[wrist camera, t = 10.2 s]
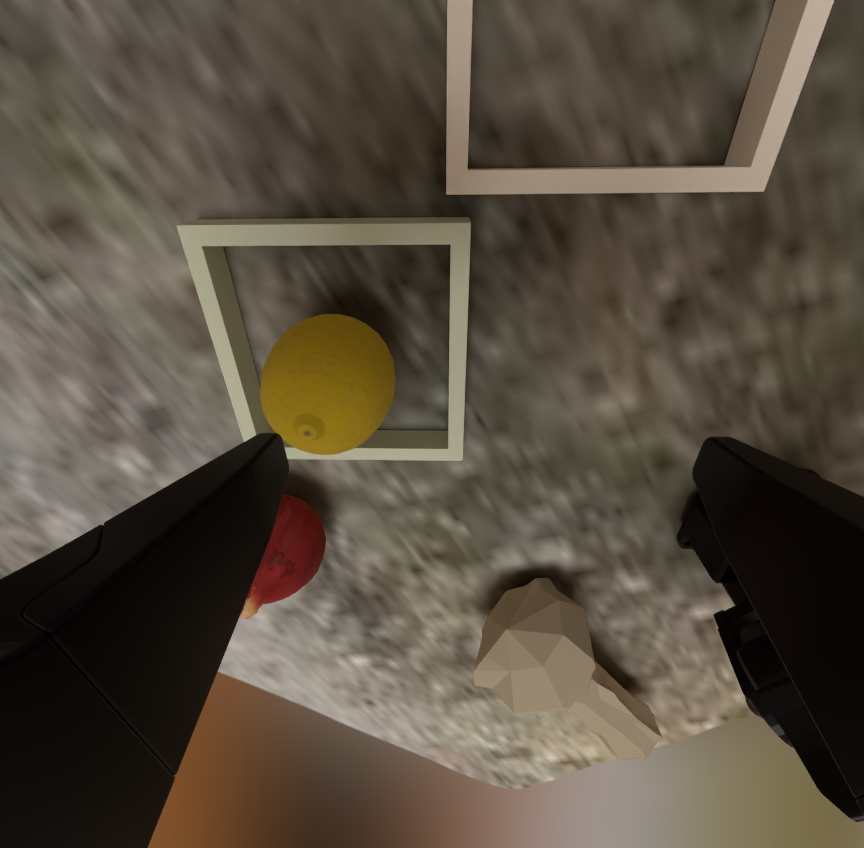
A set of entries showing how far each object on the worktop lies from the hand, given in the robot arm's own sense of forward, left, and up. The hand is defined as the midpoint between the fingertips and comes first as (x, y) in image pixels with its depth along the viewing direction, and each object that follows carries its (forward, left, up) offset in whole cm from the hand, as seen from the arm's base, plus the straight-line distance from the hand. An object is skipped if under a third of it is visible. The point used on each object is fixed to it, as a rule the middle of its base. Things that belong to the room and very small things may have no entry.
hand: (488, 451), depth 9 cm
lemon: (+6, +3, -13) cm, 15 cm away
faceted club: (-10, +31, -13) cm, 35 cm away
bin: (+6, +3, -13) cm, 15 cm away
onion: (+11, +14, -13) cm, 22 cm away
